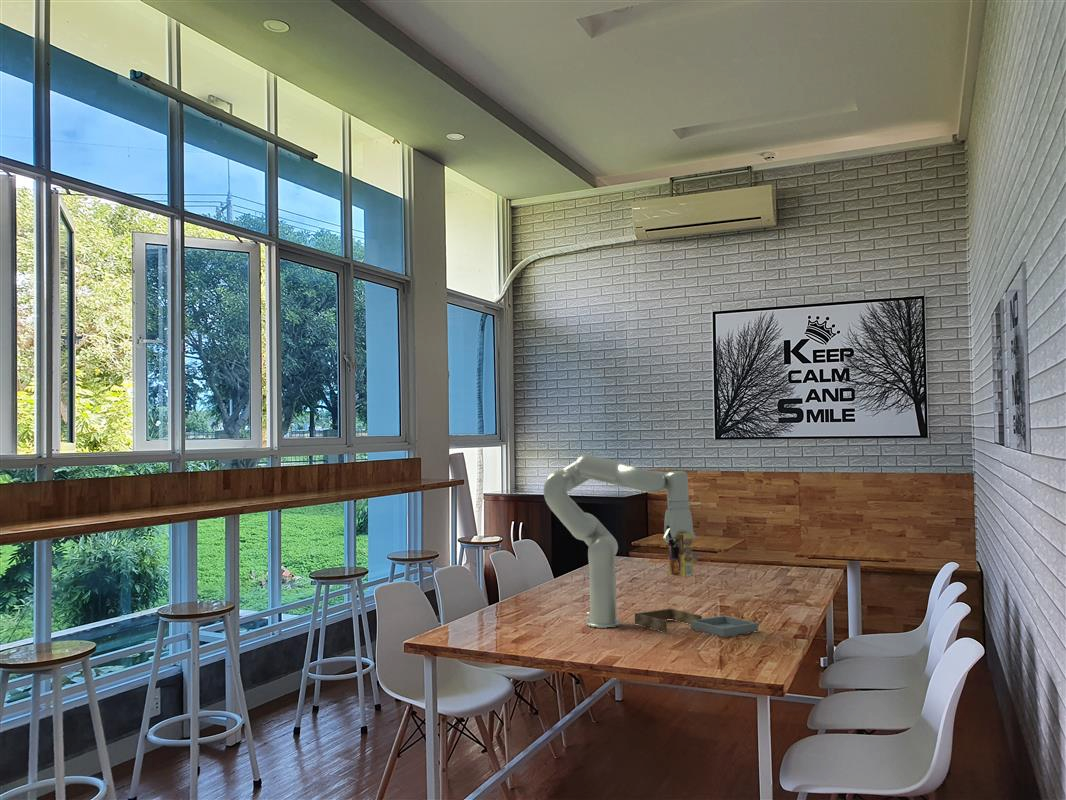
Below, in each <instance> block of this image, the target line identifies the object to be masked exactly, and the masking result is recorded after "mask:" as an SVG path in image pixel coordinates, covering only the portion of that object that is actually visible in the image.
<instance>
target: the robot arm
mask: <svg viewBox="0 0 1066 800" xmlns="http://www.w3.org/2000/svg"><path fill="white" fill-rule="evenodd" d="M589 480H594V481H600V482H603V483H607V484H612V485H614V486H618V487H619V486H620V487H626V488H631V489H634V490H639V491H642V492H647V493H650V494H656V493H659V492H665V491H666V500H667V501H666V502H667V509H666V510H665V514H664V522H663V523H664V526H663V533H664V535H663V537H662V540H663V541H665V542H666V543H667V545H668V544H669V546H670V547H671V557H672V558H674V559H678V558H679V553H678V547H677V541H678V538H679V533H683V532H689V533H691V535H692V541H693V540H694V539H695V538H696V537H697V535H696V534H695V532H694V526H693V525H694V524H693V517H692V512H691V509H690V506H691V502H690V501H689V499H690V498H689V479H688V473H687V472H686V471H683V470H676V471H674V470H673V471H661V470H660V471H658V470H654V471H652V470H647V469H644V468H641V467H640V468H639V467H634V466H632V465H629V464H627V463H625V462H622V461H618V460H613V459H610V458H605V457H599V456H596V455H593V454H582V455H580V456H579V457H577V458H576V460H575V461H574V462H573V463H571V464H569V465H567V466H565V467H564V468H562V469H559V470H554V471H552V472H551V473H550V474H549V475H548V476H547V478H546V479H545V482H544V486H543V497H544V500H545V503H546V505H547V506H548V507H549V509H550V511H551V512H552V513H553V514H554V515H555V516H556V517H557V518H558V519H559V521H560V522H561V523H562V525H563V526H564V527H565V528H566V529H567V530H568V531H569V533H570V534H571V535H572V537H574V538H575V539H576V540H579V541H582V542H584V543H585V545H586V546H587V547H588V549H587V559H588V570H589V571H588V572H589V573H588V574H589V575H588V576H589V577H588V578H589V611H587V612H586V615H587V616H588V617H589V619H587V620H586V621H585V625H586V626H587V625H588V626H587V627H590V626H591V628H594V627H597V628H596V629H608V628H607V627H613V628H617V627H616V626H618V627H620V626H621V625H622V621H621V620H619V619H618V618H617V614H618V613H617V611H618V610H617V576H616V555H617V553H618V550H619V545H618V541H617V540H616V538H615V537H614V536H613V534H611V532H610V531H609V530H608V529H607V528H606V527H605V525H603V523H602V522H600V520H599V519H598V518H597V517H596V516H594V515H593V514H591V513H589V512H585V511H584V510H583V509H582V508H581V507H580V506H579V505H578V504H577V503H576V501H574V500H573V499H572V498H571V497H570V495H569V493H568V492H570V491H571V490H574V489H576V488H577V487H579V486H580V485H582V484H584V483H585V482H587V481H589ZM669 538H670V539H669ZM673 540H674V542H673ZM619 625H620V626H619Z"/></svg>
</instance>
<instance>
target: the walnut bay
mask: <svg viewBox="0 0 1066 800" xmlns="http://www.w3.org/2000/svg"><path fill="white" fill-rule="evenodd" d="M702 617H703V615H700V614H697V613H691V612H689V611H683V610H679V609H676V608H671V607H670V608H665V609H657V610H650V611H643V612H636V613H635V612H634V625H635V624H639V625H642V626H645V627H648V628H652V629H655V630H659V631H662V632H667V628H668V627H667V621H665V620H667V619H673V620H677V621H680V622H684V623H688V624H691V620H698V619H703V618H702ZM673 620H672V621H673ZM677 621H676V622H677ZM680 622H679V623H680ZM684 623H683V624H684ZM688 624H687V625H688ZM645 627H644V628H645ZM648 628H647V629H648ZM652 629H651V630H652ZM655 630H654V631H655ZM659 631H658V632H659ZM662 632H661V633H662Z"/></svg>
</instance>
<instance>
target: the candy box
mask: <svg viewBox="0 0 1066 800" xmlns="http://www.w3.org/2000/svg"><path fill="white" fill-rule="evenodd" d="M669 539H670V538H669ZM673 542H674V540H673ZM677 547H678V553H679V558H678V559H674V558H672V557H671V547H670V546H669V544H668V543H667V553H668V554H667V556H668V559H667V562H668V575H670V576H676V577H677V576H678V577H684V578H686V577H687V578H688V577H693V576H694V569H693V565H694V564H693V540H692V535H691V533H689V532H683V533H679V538H678V541H677Z"/></svg>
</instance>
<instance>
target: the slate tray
mask: <svg viewBox="0 0 1066 800" xmlns="http://www.w3.org/2000/svg"><path fill="white" fill-rule="evenodd" d="M692 629H695V630H694V631H696V630H698V631H697V632H699V631H702V632H701V633H703V632H706V633H705V634H707V633H709V634H708V635H711V634H713V635H712V636H714V635H717V636H716V637H718V636H721V637H720V638H722V637H725V638H727V637H726V636H731V637H733V636H732V635H737V636H739V635H738V634H743V633H748V632H754V631H758V632H759V623H758V622H755V621H751V620H748V619H747V620H746V619H741V618H737V617H733V616H728V615H719V616H713V617H711V616H710V617H705V618H702V619H698V620H691V625H690V630H692ZM743 635H744V634H743Z"/></svg>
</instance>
